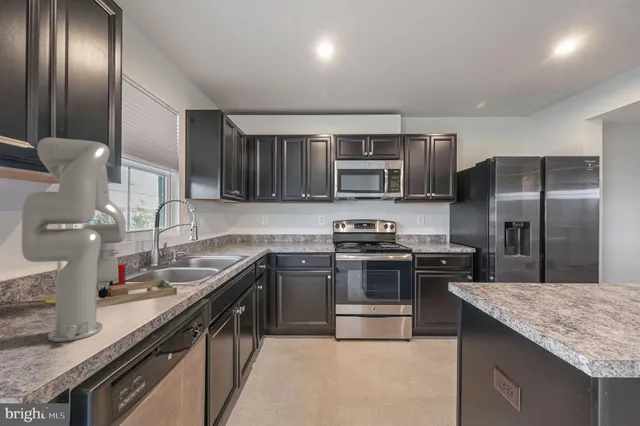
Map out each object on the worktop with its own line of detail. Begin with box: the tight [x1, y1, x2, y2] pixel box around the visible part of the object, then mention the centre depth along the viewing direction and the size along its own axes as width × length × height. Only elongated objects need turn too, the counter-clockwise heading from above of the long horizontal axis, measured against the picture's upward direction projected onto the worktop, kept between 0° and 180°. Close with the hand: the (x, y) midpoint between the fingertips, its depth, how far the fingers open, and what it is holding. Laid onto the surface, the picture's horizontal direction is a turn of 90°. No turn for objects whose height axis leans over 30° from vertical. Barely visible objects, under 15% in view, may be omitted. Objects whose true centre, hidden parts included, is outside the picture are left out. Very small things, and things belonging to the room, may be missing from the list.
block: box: [113, 287, 129, 297], centre depth 124 cm, size 5×5×4 cm
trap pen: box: [96, 278, 178, 309], centre depth 129 cm, size 22×30×3 cm
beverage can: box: [111, 262, 127, 286], centre depth 140 cm, size 7×7×12 cm
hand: (103, 298), depth 120 cm, fingers closed
